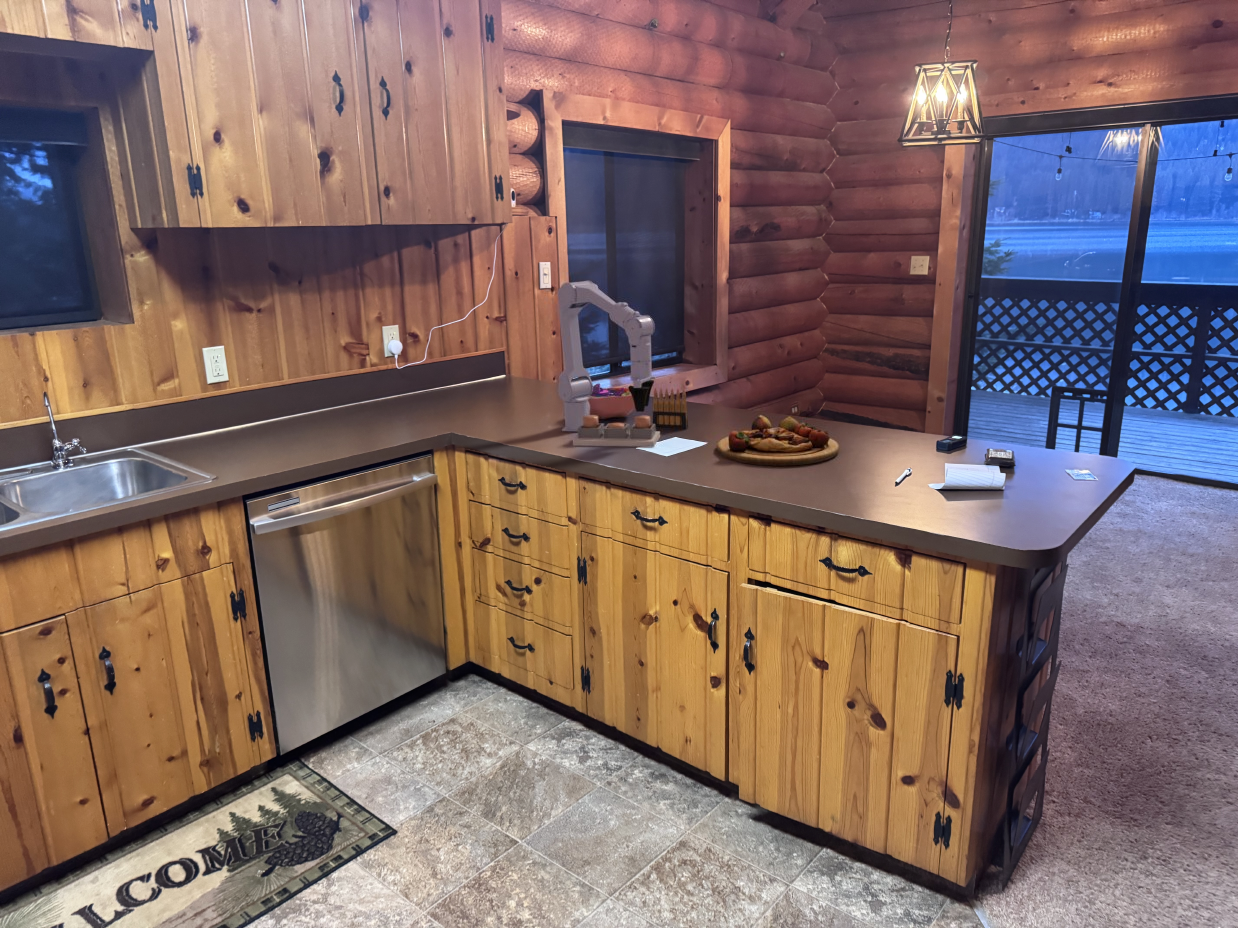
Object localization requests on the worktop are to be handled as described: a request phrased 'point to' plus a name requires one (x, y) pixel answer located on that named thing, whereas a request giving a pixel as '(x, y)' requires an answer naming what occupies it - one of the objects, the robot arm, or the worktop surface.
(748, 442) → the wooden plate with food
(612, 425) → the centre knob
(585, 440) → the plate
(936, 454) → the worktop surface
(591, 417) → the end knob
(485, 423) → the worktop surface
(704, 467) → the worktop surface
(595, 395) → the cell model
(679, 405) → the ammunition clip
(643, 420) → the knob
